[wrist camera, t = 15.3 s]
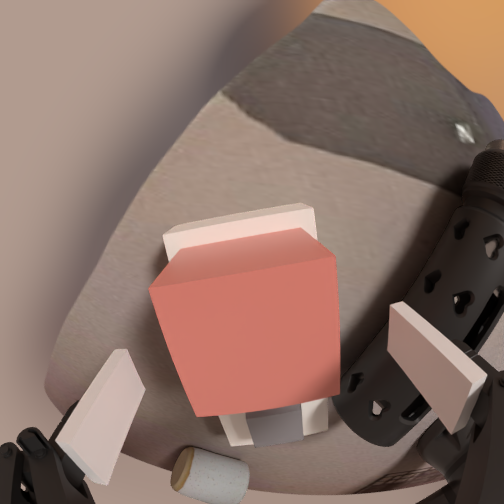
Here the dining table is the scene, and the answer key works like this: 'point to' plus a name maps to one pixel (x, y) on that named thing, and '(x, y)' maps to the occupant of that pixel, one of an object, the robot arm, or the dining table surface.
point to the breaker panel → (238, 228)
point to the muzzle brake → (437, 306)
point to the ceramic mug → (210, 477)
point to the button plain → (275, 425)
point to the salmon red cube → (252, 322)
